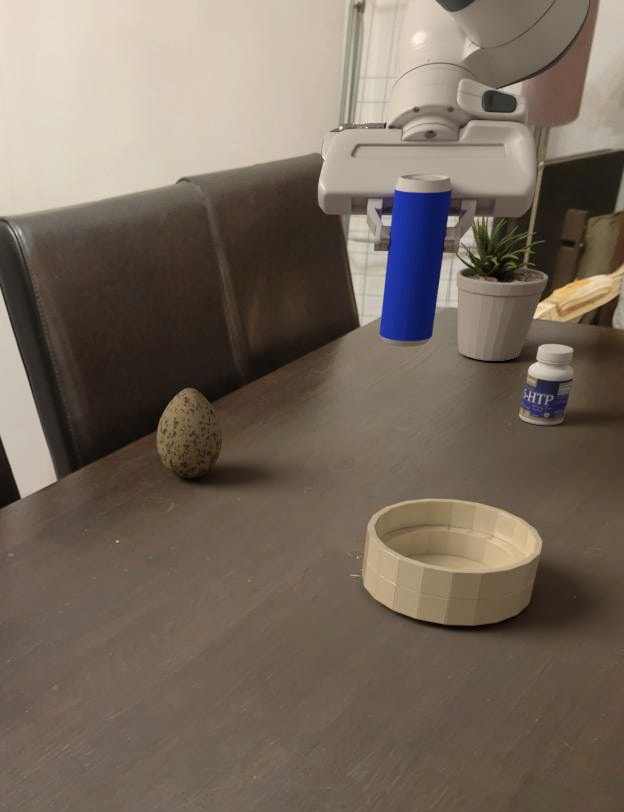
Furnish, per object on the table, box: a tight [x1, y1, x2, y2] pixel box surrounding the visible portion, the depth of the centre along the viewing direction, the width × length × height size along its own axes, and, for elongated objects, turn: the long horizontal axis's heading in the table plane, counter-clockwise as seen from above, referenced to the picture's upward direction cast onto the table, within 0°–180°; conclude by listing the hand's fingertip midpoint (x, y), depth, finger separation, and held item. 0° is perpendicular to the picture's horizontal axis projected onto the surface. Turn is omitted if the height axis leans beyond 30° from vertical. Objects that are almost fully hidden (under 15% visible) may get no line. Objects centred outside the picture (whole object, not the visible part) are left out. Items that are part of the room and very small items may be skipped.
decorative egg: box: [156, 387, 223, 479], centre depth 104 cm, size 7×7×10 cm
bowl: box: [361, 498, 544, 627], centre depth 83 cm, size 14×14×6 cm
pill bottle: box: [518, 343, 575, 426], centre depth 118 cm, size 5×5×9 cm
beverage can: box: [379, 174, 452, 348], centre depth 93 cm, size 5×5×15 cm
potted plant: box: [455, 217, 549, 361], centre depth 139 cm, size 13×14×20 cm
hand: (416, 248), depth 91 cm, fingers closed on beverage can, 5 cm apart
